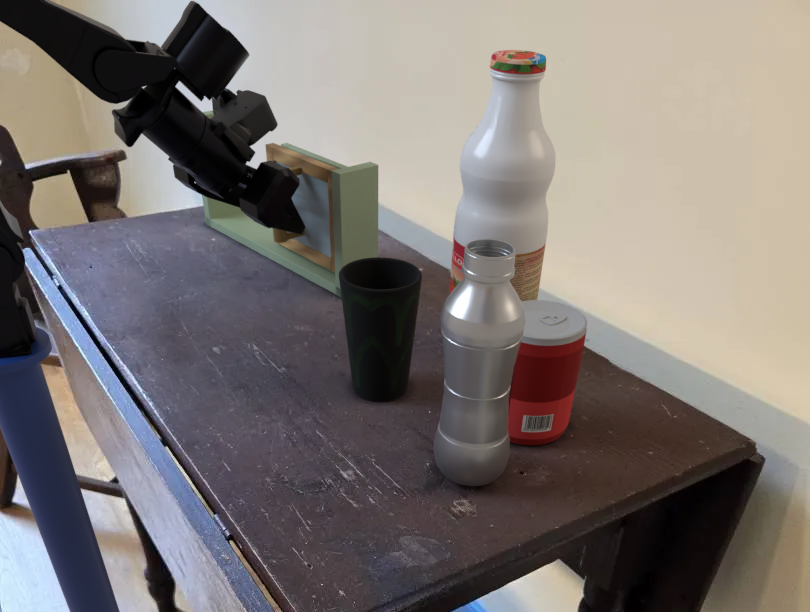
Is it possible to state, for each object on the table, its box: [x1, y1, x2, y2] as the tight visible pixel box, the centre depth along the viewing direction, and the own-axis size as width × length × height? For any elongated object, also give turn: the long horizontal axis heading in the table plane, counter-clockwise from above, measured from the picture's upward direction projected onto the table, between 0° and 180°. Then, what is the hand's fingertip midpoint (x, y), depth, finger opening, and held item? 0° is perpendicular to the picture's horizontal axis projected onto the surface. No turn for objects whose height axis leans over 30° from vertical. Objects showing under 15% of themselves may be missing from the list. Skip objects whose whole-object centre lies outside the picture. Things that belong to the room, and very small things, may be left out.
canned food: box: [508, 299, 588, 446], centre depth 71 cm, size 8×8×11 cm
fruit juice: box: [448, 49, 557, 301], centre depth 78 cm, size 9×9×28 cm
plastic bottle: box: [432, 239, 526, 487], centre depth 62 cm, size 6×7×20 cm
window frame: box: [201, 109, 379, 299], centre depth 100 cm, size 32×6×14 cm, turn 42°
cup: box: [339, 256, 423, 403], centre depth 76 cm, size 8×8×12 cm
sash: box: [265, 142, 338, 273], centre depth 95 cm, size 14×5×12 cm, turn 42°
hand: (280, 219), depth 95 cm, fingers open, 9 cm apart
